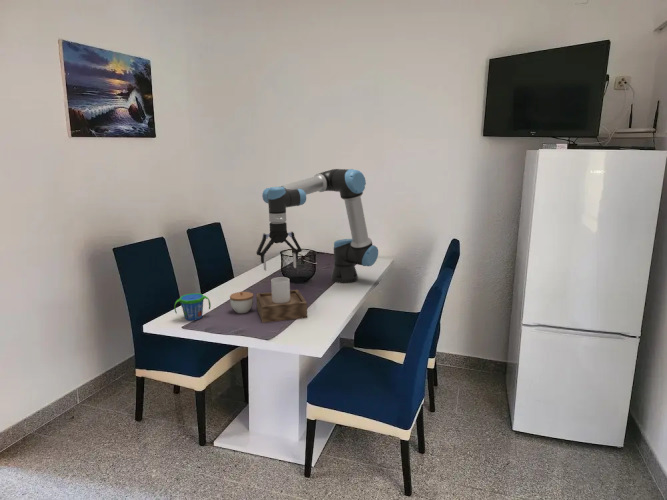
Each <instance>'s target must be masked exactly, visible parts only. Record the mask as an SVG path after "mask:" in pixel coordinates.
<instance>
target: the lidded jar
mask: <svg viewBox="0 0 667 500" xmlns="http://www.w3.org/2000/svg"><path fill="white" fill-rule="evenodd" d="M229 301H230V306H231V308H232V309H233V310H234V311H235V312H236V313H237V314H245V313H248V312H250V310H251V309H252V307H253V305H254V293H252V292H249V291H238V292H234V293H233V292H232V293H231V294H230V295H229Z"/></svg>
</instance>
